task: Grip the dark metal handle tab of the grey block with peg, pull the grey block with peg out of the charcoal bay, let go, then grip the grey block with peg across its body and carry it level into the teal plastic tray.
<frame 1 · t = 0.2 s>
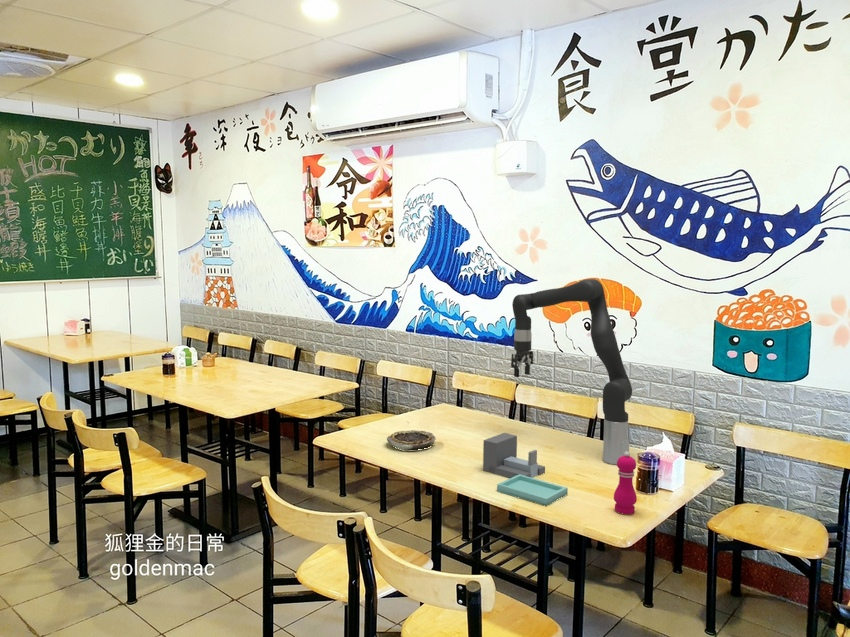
hand: (522, 375, 291), 29 cm above the table, tool pointing down, fingers open, 8 cm apart
tray: (532, 492, 230), on the table
grey block with peg: (520, 473, 250), resting in bay
pepper mill: (624, 511, 215), on the table
pie: (410, 446, 285), on the table
bay: (520, 473, 250), on the table
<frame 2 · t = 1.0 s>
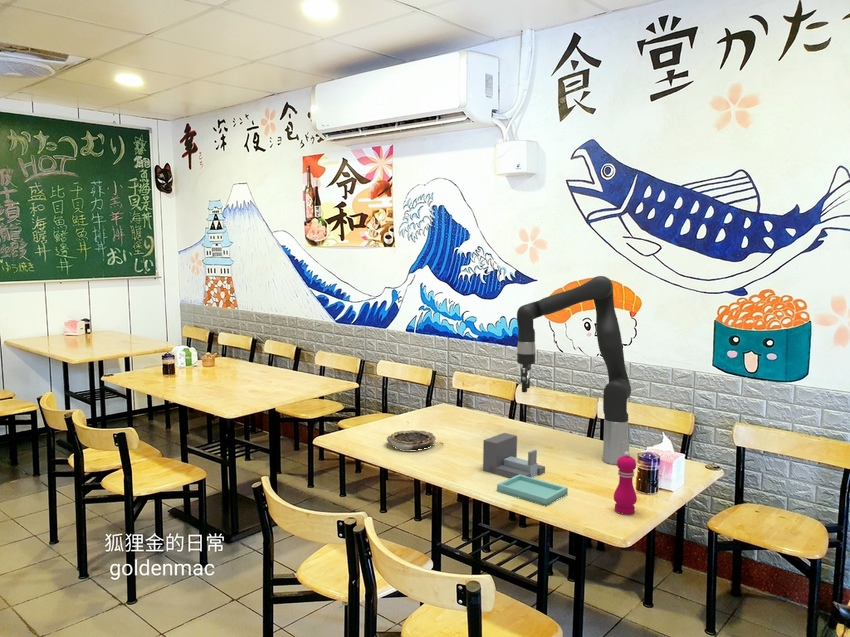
hand: (525, 390, 276), 26 cm above the table, tool pointing down, fingers open, 8 cm apart
nothing on the table moved.
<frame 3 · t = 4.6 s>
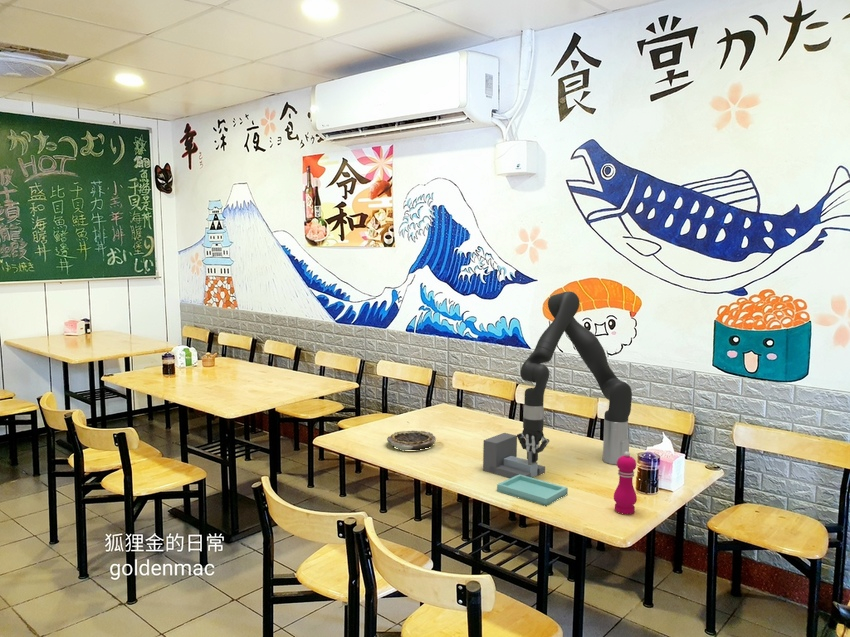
hand: (532, 461, 246), 6 cm above the table, tool pointing down, fingers closed on grey block with peg
grey block with peg: (520, 473, 250), resting in bay, touching gripper
everything else where it was.
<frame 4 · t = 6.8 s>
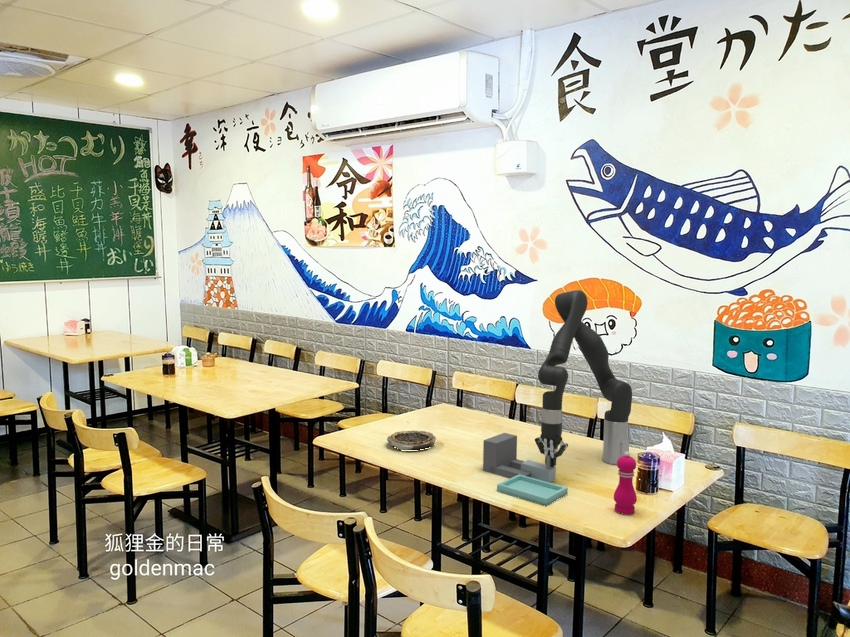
hand: (550, 466, 241), 6 cm above the table, tool pointing down, fingers closed on grey block with peg
grey block with peg: (537, 478, 245), on the table, touching gripper
everything else where it was.
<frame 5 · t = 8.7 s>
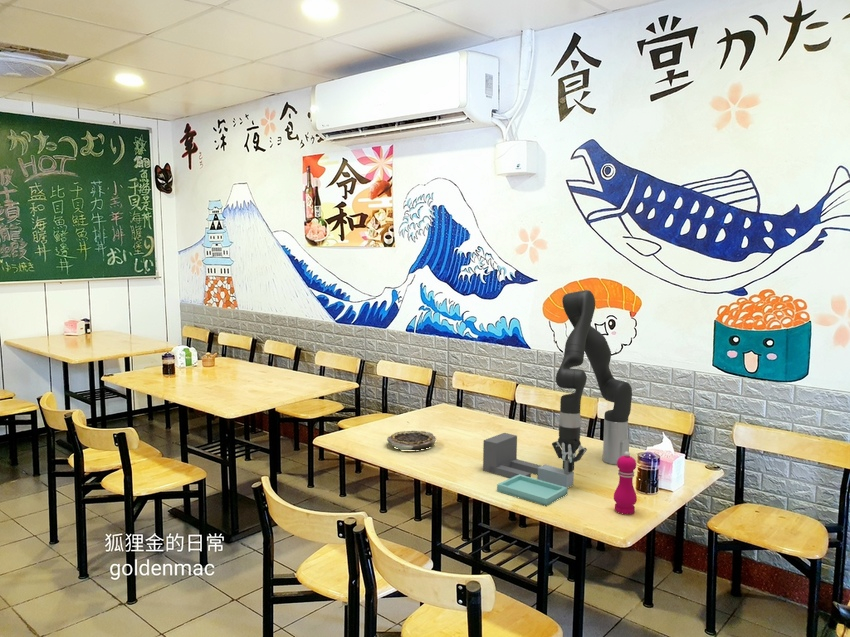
hand: (568, 471, 236), 6 cm above the table, tool pointing down, fingers closed on grey block with peg
grey block with peg: (555, 483, 240), on the table, touching gripper
everything else where it was.
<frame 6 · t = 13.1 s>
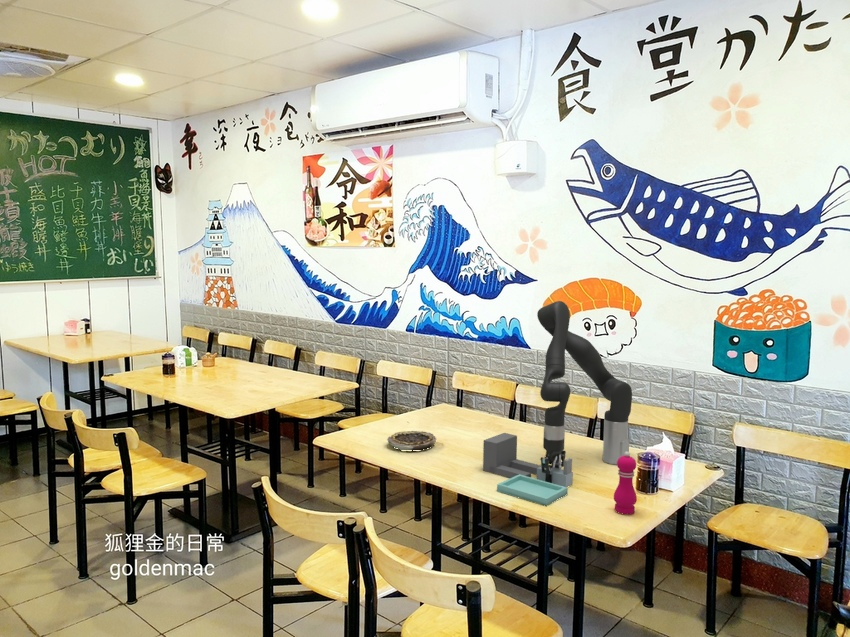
hand: (552, 481, 241), 0 cm above the table, tool pointing down, fingers open, 5 cm apart
nothing on the table moved.
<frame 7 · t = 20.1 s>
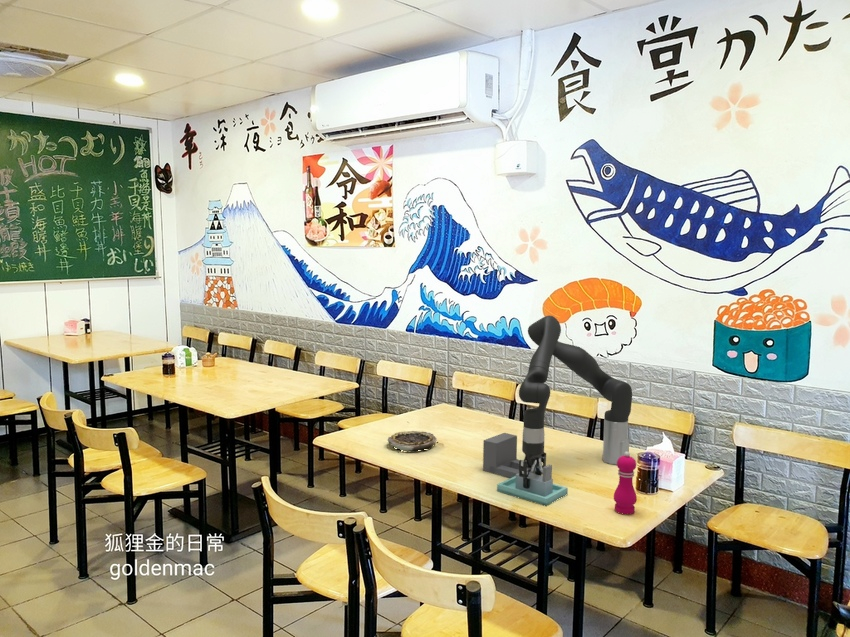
hand: (532, 485, 230), 3 cm above the table, tool pointing down, fingers open, 7 cm apart
grey block with peg: (533, 490, 230), point 1 cm above the table, touching tray
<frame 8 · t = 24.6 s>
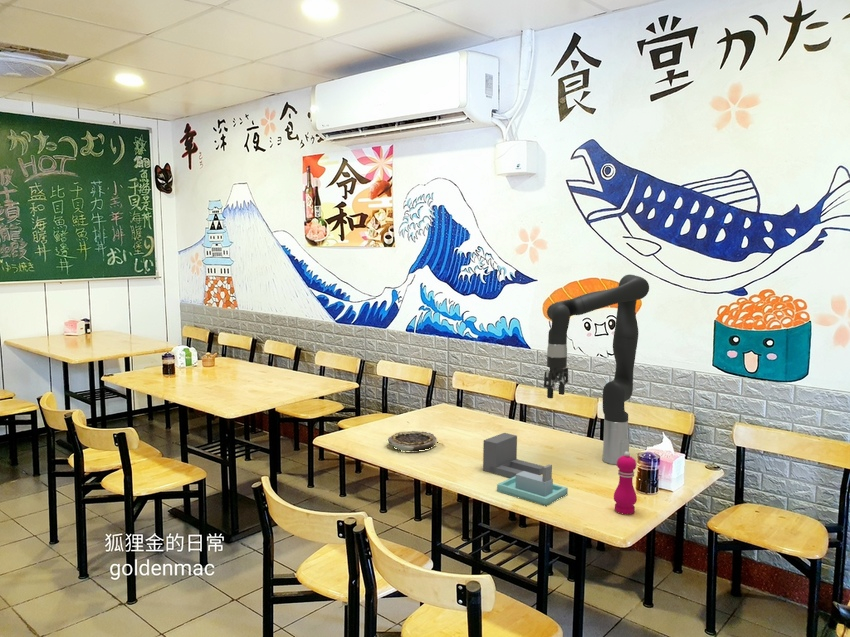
hand: (555, 396, 255), 28 cm above the table, tool pointing down, fingers open, 8 cm apart
at the end: grey block with peg inside the target area on the tray (0.1 cm from its centre), point 1.0 cm above the tray's base; grey block with peg tilted 0°; the gripper is holding nothing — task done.
